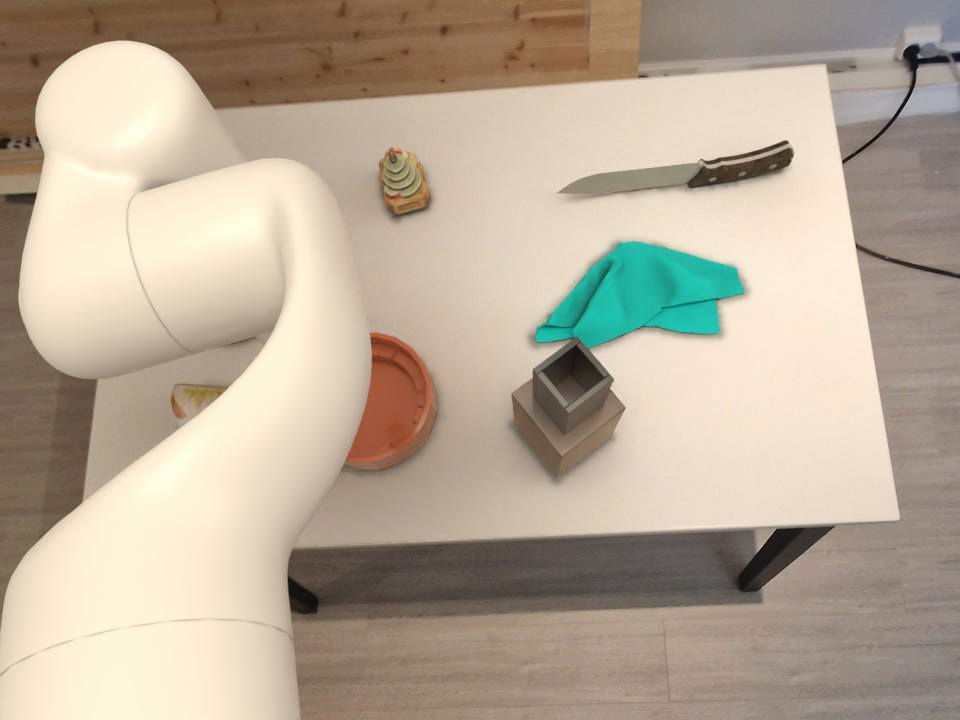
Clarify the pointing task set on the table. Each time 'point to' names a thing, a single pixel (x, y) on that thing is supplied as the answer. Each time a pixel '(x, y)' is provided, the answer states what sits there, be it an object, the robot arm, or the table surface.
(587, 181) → the knife
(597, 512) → the table surface
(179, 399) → the mug
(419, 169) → the ornament
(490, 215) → the table surface
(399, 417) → the bowl
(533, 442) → the utensil stand
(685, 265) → the cloth
